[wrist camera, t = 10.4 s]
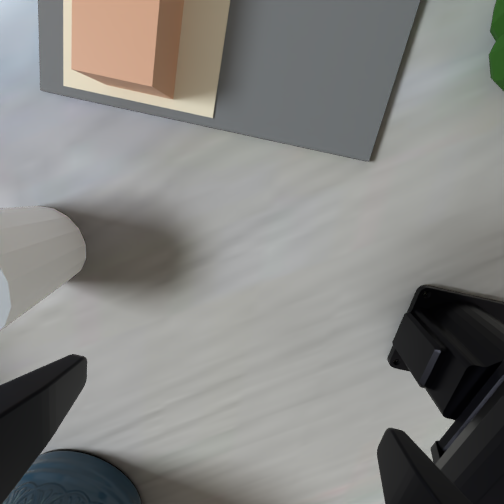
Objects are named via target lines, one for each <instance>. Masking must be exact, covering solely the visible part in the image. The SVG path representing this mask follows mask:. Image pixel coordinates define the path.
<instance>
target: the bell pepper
mask: <svg viewBox="0 0 504 504" xmlns="http://www.w3.org/2000/svg"><path fill="white" fill-rule="evenodd" d="M490 32H491V34H492V36H493V37H494V39H495V41H496V43H495V44H494V46H493V48H492V50H491V52H490V54H489V62H490V74H491V78H492V79H493V81H494V82H495V83H496V84H497V85H498V86H499V87H500V88H501V89H502V90H503V91H504V0H496V4H495V7H494V12H493V18H492V24H491V30H490Z"/></svg>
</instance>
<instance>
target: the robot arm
mask: <svg viewBox="0 0 504 504" xmlns="http://www.w3.org/2000/svg"><path fill="white" fill-rule="evenodd" d="M426 291H428V293H427V294H426V295H423V293H424V292H426ZM396 359H398V360H397V361H395V362H393V361H394V360H396ZM387 360H388V362H389V364H390V365H391V367H393V368H397V369H401V370H406V371H410V372H411V373H412V375H413V376H414V378H415V380H416V381H417V383H418V384H419V386H420V387H422V388H425V389H426V391H427V392H428V394H429V395H430V397H431V398H432V400H433V401H434V403H435V404H436V406H437V407H438V409H439V410H440V412H441V413H442V415H443V416H444V417H445V418H449V419H453V420H455V422H454V423H453V424H452V426H451V427H450V428H449V429H448V431H447V432H446V433H445V434H444V436H443V437H442V438H441V439H440V441H436V442H435V443H434V444H433V446H432V447H431V453H432V457H433V462H434V463H433V462H432V461H431V460H430V458H429V457H428V456H427V455H426V454H425V453H424V452H423V451H422V450H421V449H420V448H419V447H418V446H417V445H416V444H415V443H414V442H413V441H412V439H411V438H410V437H409V436H408V435H407V434H406V433H405V432H403V431H402V430H398V429H394V428H388V429H387V430H386V431H385V433H384V435H383V437H382V440H381V442H380V444H379V446H378V449H377V458H378V464H379V469H380V475H381V481H382V487H383V493H384V498H385V504H504V302H499V301H495V300H490V299H486V298H481V297H477V296H472V295H468V294H463V293H459V292H454V291H450V290H445V289H441V288H436V287H432V286H427V285H423V286H420V287H419V288H418V289H417V290H416V293H415V295H414V297H413V300H412V302H411V304H410V307H409V309H408V311H407V313H405V314H404V317H403V319H402V321H401V324H400V326H399V328H398V331H397V333H396V335H395V338H394V340H393V346H392V349H391V351H390V353H389V356H388V359H387ZM86 379H87V359H86V357H84V356H80V355H75V354H72V355H68V356H66V357H64V358H62V359H59V360H57V361H55V362H52V363H50V364H48V365H46V366H43V367H41V368H39V369H36V370H34V371H32V372H30V373H27V374H25V375H23V376H20V377H18V378H16V379H14V380H11V381H9V382H7V383H4V384H2V385H0V504H2V503H3V502H4V501H5V499H6V498H7V497H8V496H9V494H10V493H11V492H12V490H13V489H14V488H15V486H16V485H17V484H18V482H19V481H20V480H21V478H22V477H23V476H24V474H25V473H26V472H27V470H28V469H29V468H30V467H31V465H32V464H33V463H34V461H35V460H36V459H37V457H38V456H39V455H40V453H41V452H42V451H43V449H44V448H45V447H46V445H47V444H48V442H49V441H50V440H51V438H52V437H53V435H54V434H55V432H56V431H57V429H58V427H59V426H60V424H61V423H62V421H63V419H64V418H65V416H66V415H67V413H68V411H69V410H70V408H71V407H72V405H73V403H74V402H75V400H76V399H77V397H78V395H79V394H80V392H81V391H82V389H83V387H84V385H85V383H86Z"/></svg>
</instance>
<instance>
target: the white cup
mask: <svg viewBox="0 0 504 504" xmlns="http://www.w3.org/2000/svg"><path fill="white" fill-rule="evenodd" d="M85 260H86V243H85V241H84V239H83V236H82V234H81V232H80V229H79V228H78V227H77V226H76V225H75V224H74V223H73V221H72V220H71V219H70V218H69V217H68V216H66V215H64V214H63V213H61V212H59V211H57V210H56V209H54V208H49V207H42V206H28V207H14V208H0V331H1V330H2V329H4V328H5V327H6V326H8V325H9V324H10V323H12V322H13V321H14V320H16V319H17V318H18V317H20V316H21V315H22V314H24V313H25V312H27V311H28V310H29V309H31V308H32V307H33V306H35V305H36V304H37V303H39V302H40V301H41V300H43V299H44V298H45V297H47V296H48V295H49V294H51V293H52V292H54V291H55V290H56V289H58V288H59V287H60V286H62V285H63V284H64V283H66V282H67V281H68V280H70V279H71V278H72V277H74V276H75V275H76V274H77V273H78V272H80V271H81V270H82V267H83V265H84V263H85Z"/></svg>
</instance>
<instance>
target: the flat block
mask: <svg viewBox="0 0 504 504" xmlns="http://www.w3.org/2000/svg"><path fill="white" fill-rule="evenodd" d="M183 6H184V0H72V49H71V69H72V70H74V71H77V72H79V73H81V74H83V75H86V76H88V77H90V78H92V79H94V80H97V81H99V82H101V83H103V84H105V85H109V86H114V87H118V88H123V89H127V90H132V91H136V92H141V93H145V94H150V95H155V96H159V97H164V98H168V99H173V98H174V89H175V80H176V70H177V61H178V52H179V43H180V34H181V25H182V16H183Z"/></svg>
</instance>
